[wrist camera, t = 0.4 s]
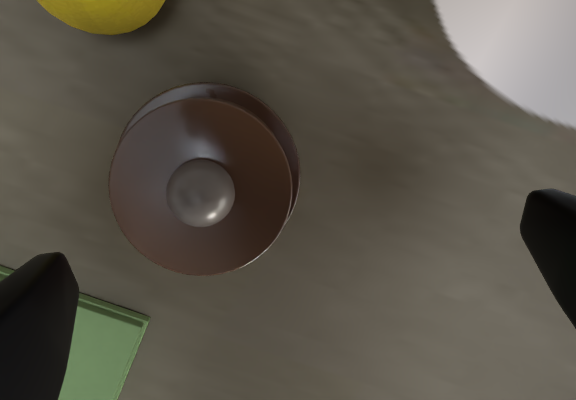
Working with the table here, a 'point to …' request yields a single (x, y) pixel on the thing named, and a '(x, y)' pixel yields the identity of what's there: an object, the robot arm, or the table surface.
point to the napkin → (99, 348)
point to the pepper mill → (204, 179)
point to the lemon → (103, 14)
